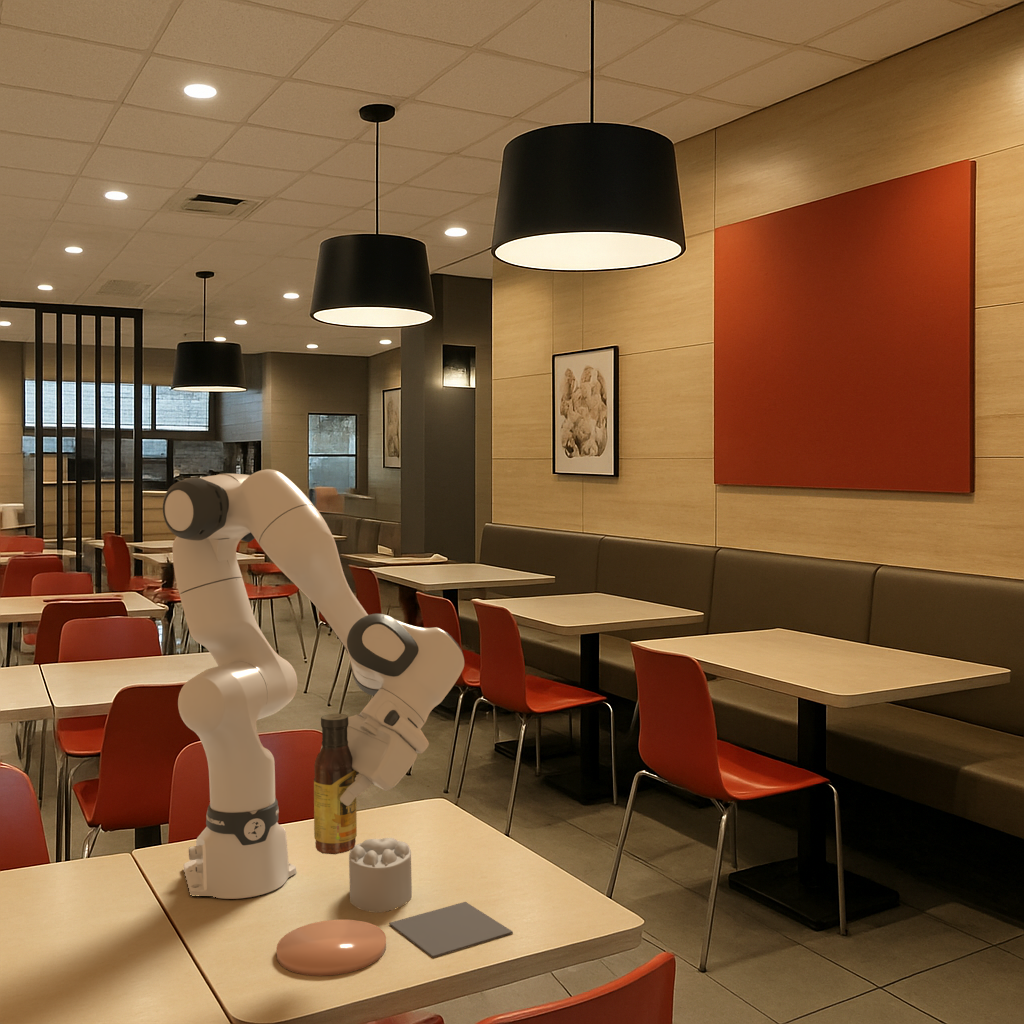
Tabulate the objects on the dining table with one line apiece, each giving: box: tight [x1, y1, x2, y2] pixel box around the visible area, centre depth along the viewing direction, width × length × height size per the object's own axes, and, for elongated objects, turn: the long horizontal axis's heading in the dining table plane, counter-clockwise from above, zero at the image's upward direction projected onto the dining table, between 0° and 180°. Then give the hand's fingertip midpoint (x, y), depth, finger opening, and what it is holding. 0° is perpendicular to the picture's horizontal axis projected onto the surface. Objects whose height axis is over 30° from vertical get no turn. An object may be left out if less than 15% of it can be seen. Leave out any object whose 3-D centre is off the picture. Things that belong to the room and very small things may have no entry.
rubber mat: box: [389, 901, 514, 959], centre depth 156 cm, size 14×14×1 cm
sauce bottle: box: [313, 713, 358, 855], centre depth 149 cm, size 7×6×20 cm
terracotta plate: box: [276, 919, 387, 977], centre depth 149 cm, size 16×16×1 cm
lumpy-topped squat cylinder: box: [348, 837, 413, 913], centre depth 169 cm, size 10×13×9 cm
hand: (331, 796), depth 149 cm, fingers closed on sauce bottle, 6 cm apart
